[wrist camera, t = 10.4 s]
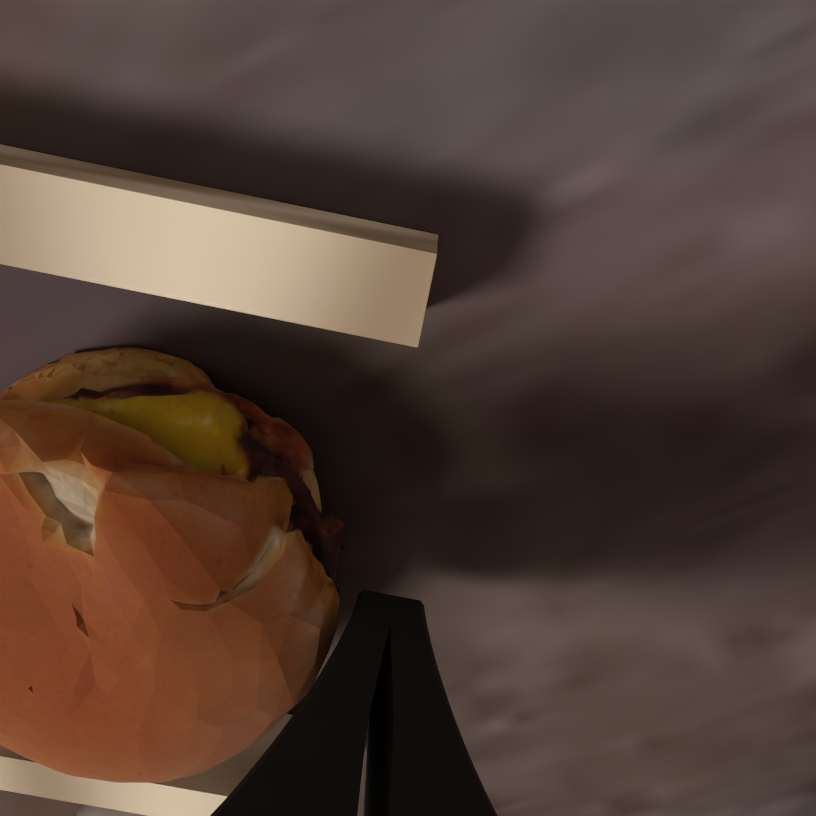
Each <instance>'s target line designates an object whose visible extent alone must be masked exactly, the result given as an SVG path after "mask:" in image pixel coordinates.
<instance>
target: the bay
mask: <svg viewBox="0 0 816 816" xmlns="http://www.w3.org/2000/svg"><path fill="white" fill-rule="evenodd" d="M437 247H438V234H433V233H428V232H423V231H418V230H413V229H409V228H404V227H399V226H394V225H389V224H384V223H380V222H375V221H370V220H365V219H360V218H355V217H350V216H346V215H341V214H336V213H331V212H326V211H321V210H316V209H312V208H307V207H302V206H297V205H292V204H287V203H282V202H278V201H273V200H268V199H263V198H258V197H253V196H248V195H244V194H239V193H234V192H229V191H224V190H219V189H215V188H210V187H205V186H200V185H195V184H190V183H185V182H181V181H176V180H171V179H166V178H161V177H156V176H151V175H147V174H142V173H137V172H132V171H127V170H122V169H117V168H113V167H108V166H103V165H98V164H93V163H88V162H84V161H79V160H74V159H69V158H64V157H59V156H54V155H50V154H45V153H40V152H35V151H30V150H25V149H20V148H16V147H11V146H6V145H1V144H0V264H3V265H8V266H13V267H18V268H23V269H28V270H33V271H38V272H43V273H48V274H53V275H58V276H63V277H68V278H73V279H78V280H83V281H88V282H93V283H98V284H103V285H108V286H113V287H118V288H123V289H128V290H133V291H138V292H143V293H148V294H153V295H158V296H163V297H168V298H173V299H178V300H183V301H188V302H193V303H198V304H203V305H208V306H213V307H218V308H223V309H228V310H233V311H238V312H243V313H248V314H253V315H258V316H263V317H268V318H273V319H278V320H283V321H287V322H292V323H297V324H302V325H307V326H312V327H317V328H322V329H327V330H332V331H337V332H342V333H347V334H352V335H357V336H362V337H367V338H372V339H377V340H382V341H387V342H392V343H397V344H402V345H407V346H412V347H417V348H418V344H419V339H420V334H421V329H422V324H423V320H424V315H425V310H426V305H427V300H428V295H429V291H430V286H431V281H432V276H433V271H434V266H435V262H436V257H437ZM291 717H292V715H291V714H285V715H284V716H283V717H282V718H281V719H280V720H279V721H278V722H277V723H276V724H275V725H274V726H273V727H272V728H271V729H270V730H269V731H268V732H266V733H265V734H264V735H263V736H262V737H261V738H260V739H259V740H258V741H256V742H255V743H253V744H252V745H251V746H249V747H248V748H246V749H245V750H243V751H242V752H240V753H239V754H237V755H235V756H234V757H232V758H230V759H228V760H226V761H224V762H222V763H220V764H218V765H216V766H214V767H212V768H210V769H209V770H207V771H205V772H203V773H199V774H195V775H191V776H187V777H183V778H179V779H175V780H171V781H167V782H158V783H116V782H109V781H103V780H96V779H89V778H83V777H76V776H71V775H67V774H64V773H61V772H58V771H55V770H53V769H51V768H48V767H46V766H44V765H41V764H39V763H37V762H34V761H32V760H30V759H27V758H25V757H23V756H21V755H19V754H17V753H15V752H13V751H11V750H9V749H7V748H5V747H3V746H1V745H0V790H5V791H11V792H17V793H22V794H28V795H34V796H39V797H45V798H51V799H56V800H62V801H68V802H73V803H79V804H85V805H90V806H96V807H102V808H107V809H113V810H119V811H124V812H130V813H136V814H141V815H147V816H210V815H211V814H212V813H213V812H214V811H215V810H216V809H217V808H218V807H219V806H220V804H221V803H222V802H223V801H224V800H225V799H226V798H227V797H228V796H229V794H230V793H231V792H232V791H233V790H234V789H235V788H236V786H237V785H238V784H239V783H240V782H241V781H242V779H243V778H244V777H245V776H246V775H247V773H248V772H249V771H250V770H251V768H252V767H253V766H254V765H255V764H256V762H257V761H258V760H259V759H260V758H261V756H262V755H263V754H264V753H265V751H266V750H267V749H268V748H269V746H270V745H271V744H272V742H273V741H274V740H275V738H276V737H277V736H278V735H279V733H280V732H281V731H282V729H283V728H284V727H285V725H286V724H287V722H288V721H289V720H290V718H291Z"/></svg>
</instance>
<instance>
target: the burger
mask: <svg viewBox="0 0 816 816" xmlns="http://www.w3.org/2000/svg"><path fill="white" fill-rule="evenodd" d="M313 468H314V463H313V455H312V450H311V449H310V447H309V446H308V444H307V443H306V441H305V440H304V438H303V437H302V435H301V434H300V433H299V432H298V431H296V430H295V429H294V428H293V427H292V426H290V425H289V424H288V423H286V422H285V421H284V420H282V419H281V418H271V417H270V416H268V415H267V414H265V413H264V412H263V411H262V410H261V409H260V408H259V407H258V406H257V405H256V404H254V403H253V402H251V401H249V400H247V399H245V398H243V397H241V396H239V395H236V394H231V393H225V392H223V391H221V390H218V389H217V388H215V387H214V385H213V383H212V382H211V380H210V378H209V377H208V376H207V375H206V373H205V372H204V371H203V370H202V369H201V368H198V367H196V366H194V365H193V364H192V363H191V362H190V361H188V360H185V359H182V358H178V357H175V356H172V355H169V354H165V353H162V352H159V351H154V350H148V349H142V348H110V349H106V350H92V351H86V352H81V353H75V354H69V355H64V356H63V357H62V359H61V360H60V361H59V362H56V363H52V364H48V365H44V366H42V367H41V368H39V369H37V370H35V371H33V372H31V373H30V374H28V375H26V376H24V377H23V378H21V379H20V380H18V381H16V382H15V383H13V384H11V385H10V386H8V387H7V388H6V389H5V390H4V391H3V392H2V393H1V394H0V745H1V746H3V747H5V748H7V749H9V750H11V751H13V752H15V753H17V754H19V755H21V756H23V757H25V758H27V759H30V760H32V761H34V762H37V763H39V764H41V765H44V766H46V767H48V768H51V769H53V770H55V771H58V772H61V773H64V774H67V775H71V776H76V777H83V778H89V779H96V780H103V781H109V782H116V783H158V782H167V781H171V780H175V779H179V778H183V777H187V776H191V775H195V774H199V773H203V772H205V771H207V770H209V769H210V768H212V767H214V766H216V765H218V764H220V763H222V762H224V761H226V760H228V759H230V758H232V757H234V756H235V755H237V754H239V753H240V752H242V751H243V750H245V749H246V748H248V747H249V746H251V745H252V744H253V743H255V742H256V741H258V740H259V739H260V738H261V737H262V736H263V735H264V734H265V733H266V732H268V731H269V730H270V729H271V728H272V727H273V726H274V725H275V724H276V723H277V722H278V721H279V720H280V719H281V718H282V717H283V716H284V715H285V714H286V713H288V712H289V711H290V710H291V709H292V708H293V707H294V706H295V705H296V704H297V703H298V702H299V701H300V700H301V699H302V697H303V696H304V694H305V693H306V692H307V691H308V690H309V689H311V687H312V685H313V683H314V681H315V679H316V677H317V675H318V673H319V671H320V669H321V666H322V664H323V662H324V660H325V658H326V656H327V654H328V652H329V649H330V646H331V643H332V640H333V637H334V634H335V631H336V628H337V619H338V610H339V597H338V591H339V590H338V588H337V586H336V572H337V565H338V561H339V556H340V552H341V550H342V549H344V544H343V539H344V537H345V533H344V524H343V522H342V521H341V520H340V519H339V518H337V517H336V516H335V515H332V514H322V513H321V512H322V507H321V501H320V494H319V488H318V483H317V479H316V477H315V474H314V471H313Z"/></svg>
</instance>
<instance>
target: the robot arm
mask: <svg viewBox="0 0 816 816" xmlns="http://www.w3.org/2000/svg"><path fill="white" fill-rule="evenodd" d="M368 720H369V729H368V746H367V763H366V781H365V799H364V816H497V814H496V812H495V810H494V808H493V806H492V804H491V802H490V800H489V798H488V796H487V794H486V792H485V790H484V787H483V785H482V783H481V781H480V779H479V777H478V774H477V772H476V770H475V768H474V766H473V763H472V761H471V759H470V756H469V754H468V751H467V749H466V747H465V744H464V742H463V739H462V737H461V734H460V731H459V729H458V726H457V724H456V721H455V718H454V716H453V713H452V710H451V707H450V704H449V702H448V699H447V696H446V692H445V689H444V686H443V683H442V680H441V677H440V674H439V671H438V667H437V664H436V660H435V657H434V653H433V649H432V645H431V641H430V637H429V632H428V628H427V623H426V617H425V610H424V605H423V604H422V602H421V601H419V600H414V599H409V598H403V597H398V596H393V595H387V594H382V593H377V592H371V591H366V590H364V591H362V592H360V593H359V594H358V598H357V602H356V605H355V607H354V610H353V613H352V615H351V617H350V620H349V622H348V624H347V626H346V628H345V630H344V632H343V634H342V636H341V638H340V640H339V642H338V644H337V646H336V647H335V649H334V651H333V653H332V654H331V656H330V658H329V660H328V662H327V663H326V665H325V667H324V669H323V670H322V672H321V673H320V675H319V677H318V678H317V680H316V681H315V683H314V684H313V686H312V687H311V689H310V690H309V692H308V693H307V695H306V696H305V698H304V699H303V701H302V703H301V704H300V706H299V707H298V708H297V710H296V711H295V713H294V714H293V715H292V717H291V718H290V720H289V721H288V722H287V724H286V725H285V727H284V728H283V729H282V731H281V732H280V733H279V735H278V736H277V737H276V738H275V740H274V741H273V742H272V744H271V745H270V746H269V748H268V749H267V750H266V751H265V753H264V754H263V755H262V756H261V758H260V759H259V760H258V761H257V762H256V764H255V765H254V766H253V767H252V768H251V770H250V771H249V772H248V773H247V775H246V776H245V777H244V778H243V779H242V781H241V782H240V783H239V784H238V785H237V786H236V788H235V789H234V790H233V791H232V792H231V793H230V794H229V796H228V797H227V798H226V799H225V800H224V801H223V802H222V803H221V804H220V806H219V807H218V808H217V809H216V810H215V811H214V812H213V813H212V814H211V815H210V816H357V810H358V801H359V792H360V783H361V774H362V766H363V757H364V749H365V740H366V732H367V726H368Z"/></svg>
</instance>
